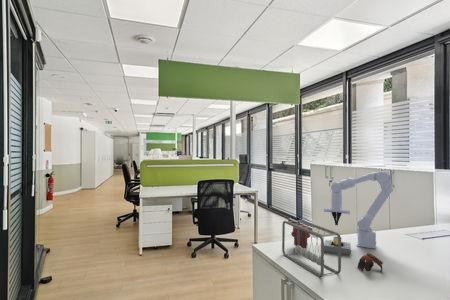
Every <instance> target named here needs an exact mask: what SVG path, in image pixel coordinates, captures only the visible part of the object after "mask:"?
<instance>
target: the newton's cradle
mask: <svg viewBox="0 0 450 300" xmlns="http://www.w3.org/2000/svg"><path fill="white" fill-rule="evenodd" d="M294 222H295V223H294ZM296 222H297V223H296ZM281 225H282V228H281V231H282V236H281V237H282V240H281V242H282V243H281V246H282V247H281V252H282V254H283V256H284V257H286V258H287V259H289V260H291V261H292V262H294V263H295V264H297V265H299V266H301V267H302V268H303V269H306V270H307V271H309V272H311V273H312V274H313V275H314V276H317V277H319V278H323V276H326V275H331V274H332V275H333V274H337V275H338V274H340V273H341V271H342V255H341V242H342V237H341V234H340V233H338V232H336V231H333V230H330V229H328V228H325V227H322V226H320V225H317V224H314V223H311V222H309V221H306V220H303V219H302V218H301V219H298V220H290V221H289V220H284V221H282V224H281ZM285 225H289V226H291V227H292V228H293V227H295V228H298V231H297V233H296V235H297V246H295V247H294V251H295V252H292V253H286V252H285V242H286V241H285V231H286V229H285V228H286V226H285ZM300 225H304V226H306V227H307V226H308V227H309V226H310V227H309V229H307V228H304V227H302V226H300ZM310 228H312V229H315V230H312V229H310ZM301 230H303V231H305V233H306V232H307V233H310V235H311V236H310V239H311V240H310V241H313V240H312V239H313V236H314V237H316V240H318V238H319V239H320V255H319V254H316V252H317V250H318V252H319V248H317V249H314V250H312V251H311V250H308V249H307V248H306V249H305V247H304V248H302V247H301V246H300V240H301V238H302V235H301V238H300V231H301ZM316 230H318V231H317V232H316ZM320 231H321V232H323V234H321V233H320ZM325 233H327V234H325ZM301 234H302V232H301ZM334 235H335V236H336V237H338V254H337V264H338V265H337V270H336V269H334V268H332V267H330V266H329V265H327V264H325V259H324V255H325V252H324V242H325V240H324V238H325V237H327V236H334ZM306 240H307V241H308V238H307V235H306ZM305 243H306V241H305ZM302 244H303V242H302ZM313 244H314V243H310V246H308V243H307V247H309V248H311V245H312V247H313V246H314V245H313ZM318 246H319V244H318V241H316V245H315V247H318ZM296 254H300V255H301V256H302V257H305V258H306V259H307V260H310V261H311V262H312V263H316V264H317V265H318V266H319V267H320V273H319V272H317V271H315V270H314V269H312V268H311V267H308V266H307V265H305V264H303V263H302V262H300V261H299V260H296V259H295V258H294V257H292V256H290V255H296ZM324 268H325V269H327V270H329V271H331V272H327V273H324V272H325V271H324Z"/></svg>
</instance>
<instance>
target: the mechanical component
mask: <svg viewBox="0 0 450 300" xmlns="http://www.w3.org/2000/svg"><path fill="white" fill-rule="evenodd" d="M304 225H305V224H300V226H302V227H304V228H307V229H309V230H310V227H309V226H307V225H306V226H304ZM297 231H298V228H295V227H293V226H292V232H290V233H291V234H290V236H291V237H293V245H294V246H295V247H296V246H297V235H296V233H297ZM301 232H302V234H301ZM301 235H302V238H301ZM306 235H307V240H306ZM300 238H301V240H300V246H301V247H302V248H304V247H305V248H306V249H308V246H307V244H308V239H309V238H311V234H310V233H307V232H306V233H305V231H303V230H301V231H300ZM305 241H306V243H305ZM302 242H303V244H302Z"/></svg>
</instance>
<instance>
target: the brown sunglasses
mask: <svg viewBox="0 0 450 300" xmlns="http://www.w3.org/2000/svg"><path fill="white" fill-rule="evenodd" d="M375 264H376V265H377V266H379V267H380V271H379V272H380V273H381V272H382V271H383V264H384V262H383V261H382V260H381V259H379V258H377V257H376V256H375V255H373V254H371V253H370V252H366V254H364V255H361V257H360V258H359V260H358V264H357V268H358V269H359V270H360V271H362V272H364V270H365V272H371V270H372V268H373V267H374V265H375Z"/></svg>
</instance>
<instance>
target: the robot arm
mask: <svg viewBox="0 0 450 300" xmlns="http://www.w3.org/2000/svg"><path fill="white" fill-rule="evenodd" d="M389 173H390V172H388V171H386V170H380V171H375V172H369V173H367V174H364V175H361V176H359V177H358V176H357V177H356V178H353V177H349V176H347V177H345V179H342V180H340V179H339V180H337V181H334V182H333V183H332V184H331V185H330V190H331V207H330V208H329V207H326V208H325V207H323V212H324V213H331V216H332V218H333V220H334V226H339V221H340V218H341V217H342V214H346V215H350V214H351V210H348V209H343V193H342V192H343V191H346V190H348V189H349V190H350V189H351V188H354V187H356V184H357V185H358V184H360V183H364V182H367V181H373V182H376V181H377V183H378V184H379V186H380V188H381V190H380V192H379V194H378V195H377V197H376V198H375V199H374V201H373V202H372V204H371V206H370V207H369V208H368V209H367V211H366V213H365V214H364V216H361V217H360V219H359V220H358V222H357V241H356V246H357V247H361V248H368V249H377V236H376V230H372V227H371V225H372V223H373V220H374V218H375V217H376V215H377V214H378V213H379V211H380V209H381V208H382V207H383V205H384V204H385V203H386V201H387V199H388V198H389V196H390V195H391V193H392V191H393V185H392V177H391V175H390V174H389Z"/></svg>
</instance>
